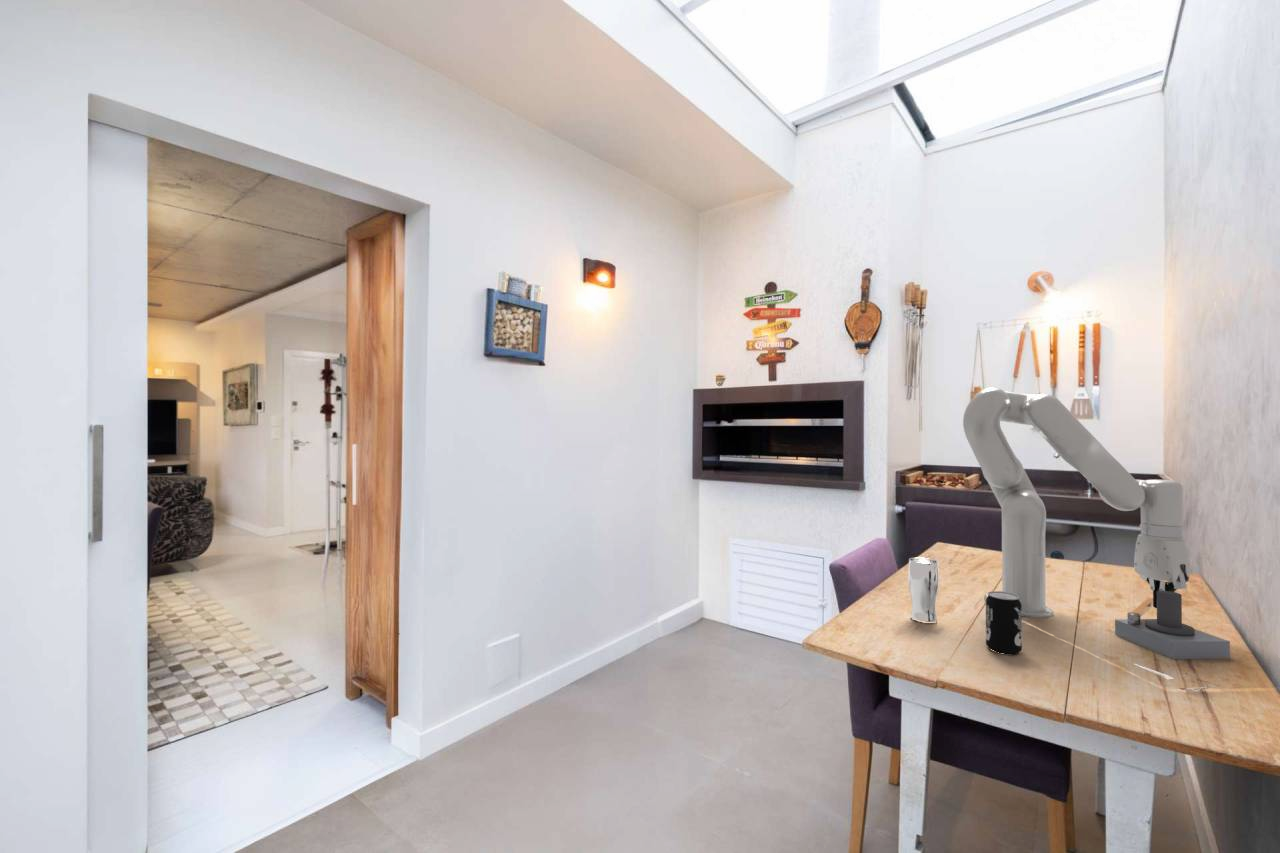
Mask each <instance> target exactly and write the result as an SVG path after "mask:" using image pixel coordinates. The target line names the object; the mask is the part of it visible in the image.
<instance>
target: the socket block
mask: <svg viewBox="0 0 1280 853" xmlns="http://www.w3.org/2000/svg"><path fill="white" fill-rule="evenodd" d="M1148 619H1149V618H1142V619H1141V618H1140V625H1132V624H1129V623H1128V618H1126V619H1125V618H1123V619H1118V618H1117V619H1114V620H1115V621H1114V633H1115V636H1117V637H1120V638H1121V639H1124V640H1126V641H1129V642H1131V643H1134V644H1136V645H1138V646H1141V647H1143V648H1146V649H1148V650H1149V651H1152V652H1156V653H1158V654H1160V655H1162V656H1165V657H1167V658H1170V659H1173V660H1200V659H1201V660H1202V659H1203V660H1206V659H1207V660H1209V659H1210V660H1212V659H1213V660H1214V659H1215V660H1218V659H1221V660H1222V659H1225V660H1227V659H1230V658H1231V650H1230V649H1231V648H1230V647H1231V641H1230V640H1228V639H1224V638H1221V637H1218V636H1217V635H1213V634H1210V633H1207V632H1204V631H1201V630H1199V629H1196V628H1194V629H1195V635H1194V636H1175V635H1169V634H1164V633H1160V632H1156V631H1153V630H1150V629H1148V628H1146V627H1145V620H1148Z"/></svg>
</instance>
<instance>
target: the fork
mask: <svg viewBox="0 0 1280 853" xmlns="http://www.w3.org/2000/svg"><path fill="white" fill-rule="evenodd" d="M1133 665H1134V666H1137V667H1139V668H1142V669H1143V670H1146V671H1149V672H1151V673H1153V674H1156V675H1158V676H1161V677H1162V678H1164V679H1166V680H1174V679H1175V678H1174V677H1172V676H1170V675H1169V674H1166V673H1162V672H1159V671H1157V670H1153V669H1152V668H1148V667H1146V666H1144V665H1143V666H1142V665H1140V664H1136V663H1133ZM1209 688H1211V686H1205V687H1204V686H1202V687H1201V686H1199V687H1183V688H1180V687H1179V689H1180V690H1183V691H1184V690H1185V691H1187V690H1188V691H1189V690H1205V689H1209Z"/></svg>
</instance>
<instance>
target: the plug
mask: <svg viewBox="0 0 1280 853" xmlns="http://www.w3.org/2000/svg"><path fill="white" fill-rule="evenodd" d="M1182 598H1183V596H1182V594H1181V593H1178V592H1176V591H1175V592H1170V591H1157V608H1156V618H1147V619H1148V620H1145V627H1146V628H1148V629H1150V630H1153V631H1156V632H1160V633H1164V634H1169V635H1175V636H1194V635H1195V629H1196V628H1194V627H1192V626H1191V625H1188V624H1185V623H1183V620H1182V619H1183V614H1182V610H1183V609H1182V608H1183V606H1182Z"/></svg>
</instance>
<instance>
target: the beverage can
mask: <svg viewBox="0 0 1280 853" xmlns="http://www.w3.org/2000/svg"><path fill="white" fill-rule="evenodd" d="M1000 591H1001V590H998V591H997V590H994V591H993V590H992V591H989V592H988V593H987V595H988V597H987V598H986V602H985V645H986V646H987V648H988V649H989V648H990V649H992V650H994V651H996V652H995V653H997V652H999V653H998V654H1000V653H1004V654H1003V655H1005V654H1012V655H1011V656H1014V655H1015V654H1016V655H1019V653H1021V652H1022V650H1023V649H1022V648H1023V646H1022V643H1023V642H1022V639H1023V634H1022V632H1023V628H1022V627H1023V625H1022V622H1023V621H1022V619H1023V618H1022V604H1021V602H1020V601H1019V596H1017V595H1015V594H1012V593H1008V592H1000ZM990 649H989V650H990ZM992 650H991V651H992ZM994 651H993V652H994ZM1016 655H1015V656H1016Z"/></svg>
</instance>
